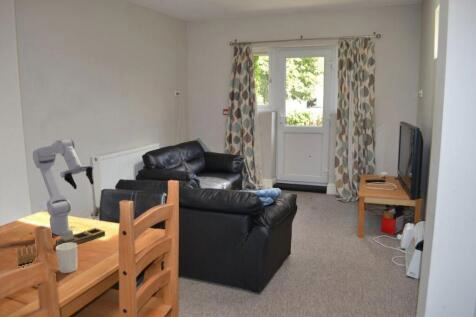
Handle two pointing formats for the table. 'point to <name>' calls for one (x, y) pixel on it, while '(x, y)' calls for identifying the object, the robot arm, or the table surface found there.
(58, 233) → the robot arm
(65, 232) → the metal peg
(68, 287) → the table surface
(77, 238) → the beige slotted frame
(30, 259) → the ammunition clip
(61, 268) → the white cup
